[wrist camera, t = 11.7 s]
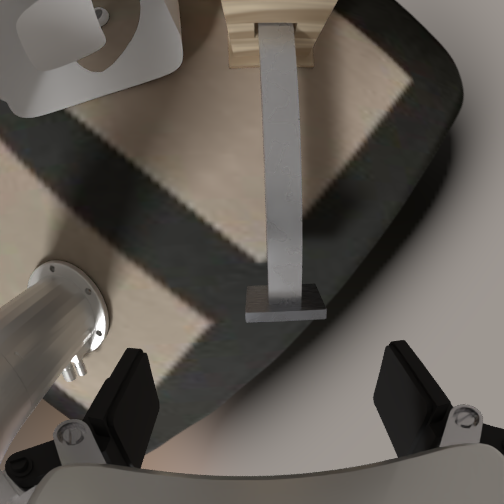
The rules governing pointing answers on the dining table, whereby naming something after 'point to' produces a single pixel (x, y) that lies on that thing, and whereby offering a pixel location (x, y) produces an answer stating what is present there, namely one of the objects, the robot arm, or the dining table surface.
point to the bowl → (78, 52)
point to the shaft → (282, 186)
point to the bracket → (273, 11)
